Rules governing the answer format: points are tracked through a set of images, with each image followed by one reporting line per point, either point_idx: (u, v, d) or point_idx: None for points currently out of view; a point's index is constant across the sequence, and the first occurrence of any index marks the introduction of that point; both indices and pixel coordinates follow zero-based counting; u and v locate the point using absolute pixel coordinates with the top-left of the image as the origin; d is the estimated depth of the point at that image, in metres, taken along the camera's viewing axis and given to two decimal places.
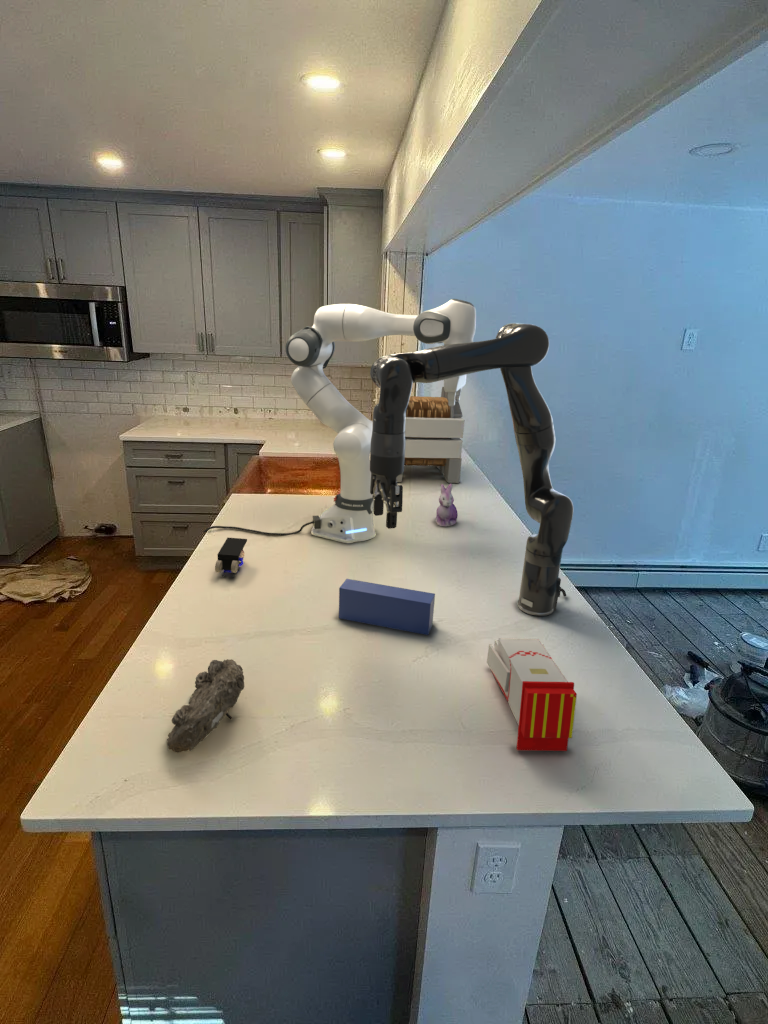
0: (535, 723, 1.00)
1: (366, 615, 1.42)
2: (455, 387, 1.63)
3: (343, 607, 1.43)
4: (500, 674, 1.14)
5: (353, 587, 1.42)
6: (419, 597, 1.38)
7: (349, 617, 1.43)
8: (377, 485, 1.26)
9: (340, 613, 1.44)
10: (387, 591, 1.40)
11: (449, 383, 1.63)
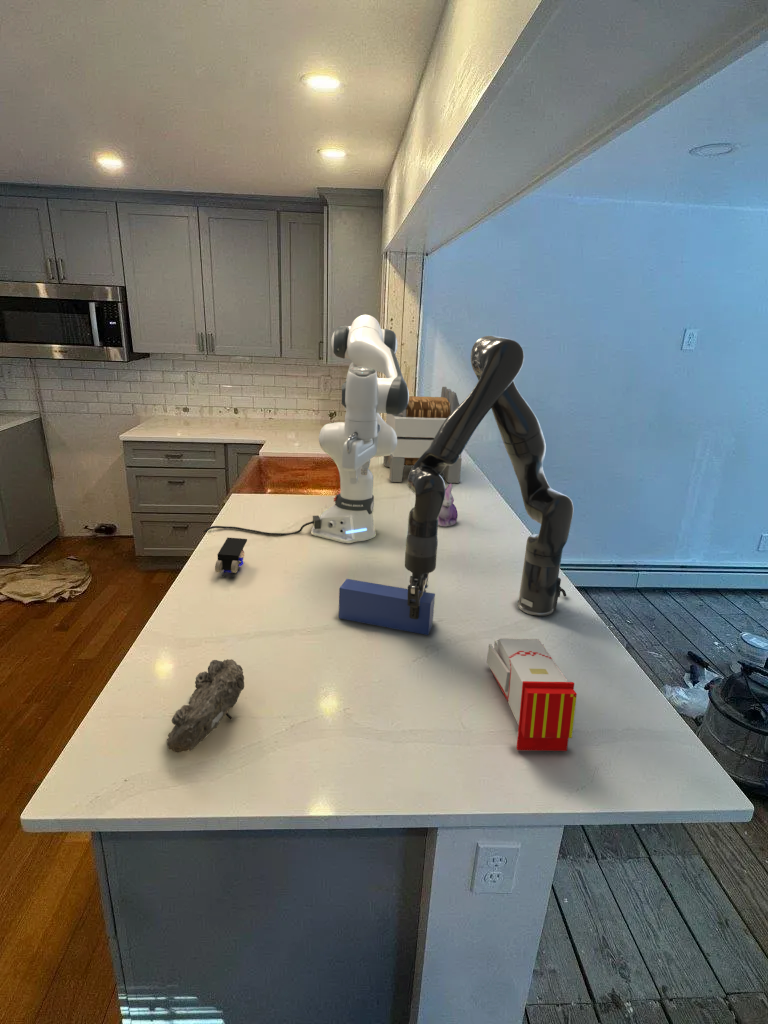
0: (535, 723, 1.00)
1: (366, 615, 1.42)
2: None
3: (343, 607, 1.43)
4: (500, 674, 1.14)
5: (353, 587, 1.42)
6: None
7: (349, 617, 1.43)
8: None
9: (340, 613, 1.44)
10: (387, 591, 1.40)
11: None
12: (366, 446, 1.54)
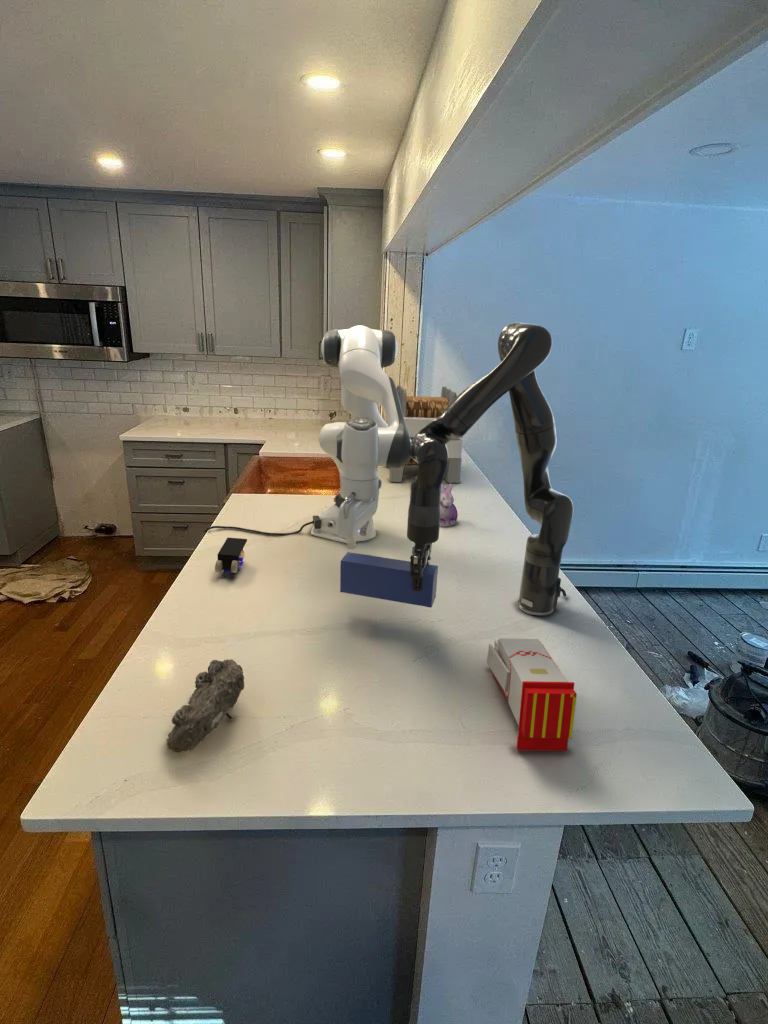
0: (535, 723, 1.00)
1: (368, 588, 1.39)
2: None
3: (344, 581, 1.40)
4: (500, 674, 1.14)
5: (355, 560, 1.39)
6: None
7: (350, 591, 1.41)
8: None
9: (341, 587, 1.41)
10: (389, 564, 1.38)
11: None
12: (365, 506, 1.36)
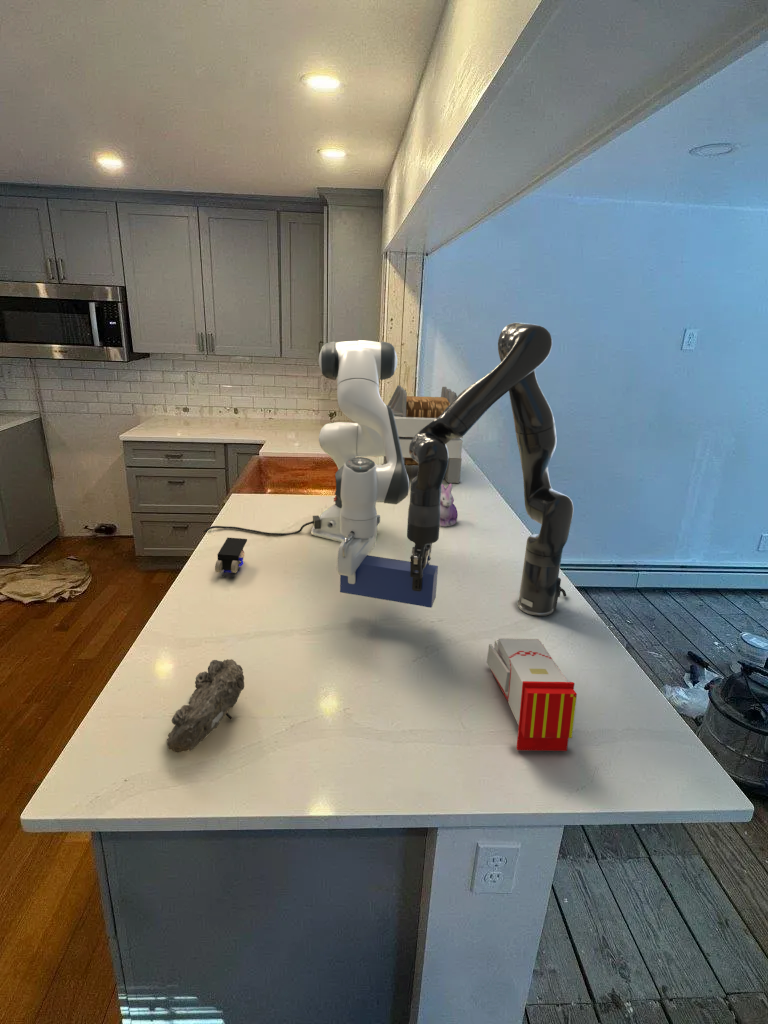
0: (535, 723, 1.00)
1: (368, 588, 1.39)
2: None
3: (344, 581, 1.40)
4: (500, 674, 1.14)
5: None
6: None
7: (350, 591, 1.41)
8: None
9: (341, 587, 1.41)
10: (389, 564, 1.38)
11: None
12: (364, 542, 1.39)
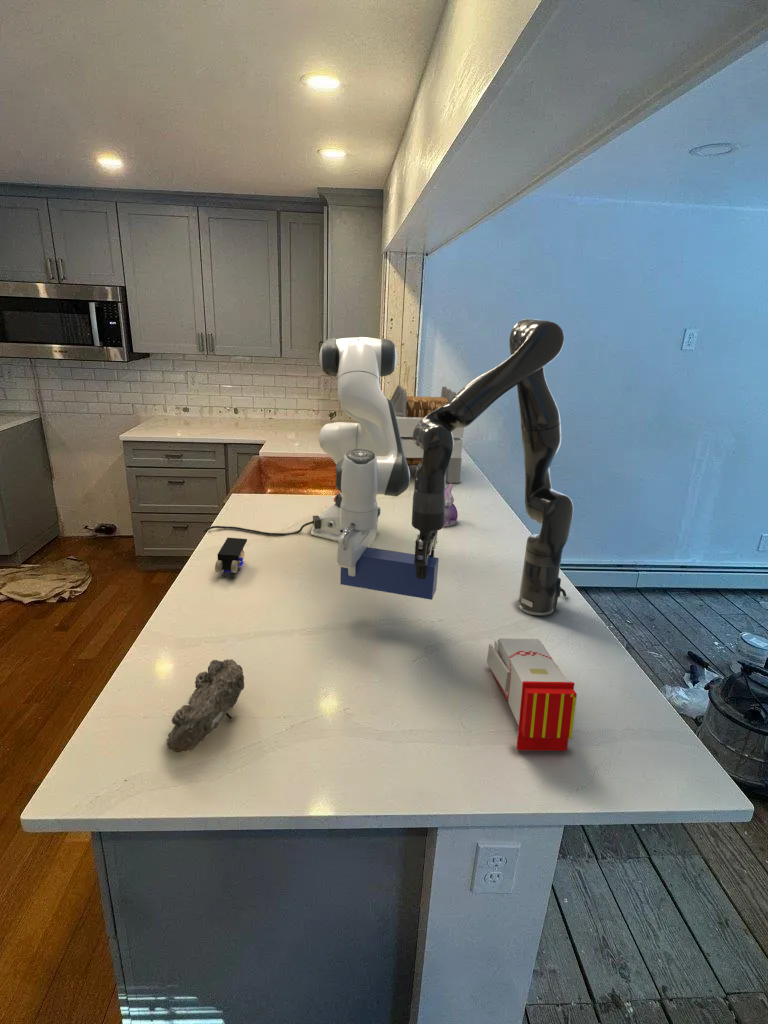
0: (535, 723, 1.00)
1: (368, 580, 1.39)
2: None
3: (344, 573, 1.40)
4: (500, 674, 1.14)
5: None
6: None
7: (351, 583, 1.40)
8: None
9: (342, 579, 1.41)
10: (390, 556, 1.37)
11: None
12: (364, 535, 1.39)
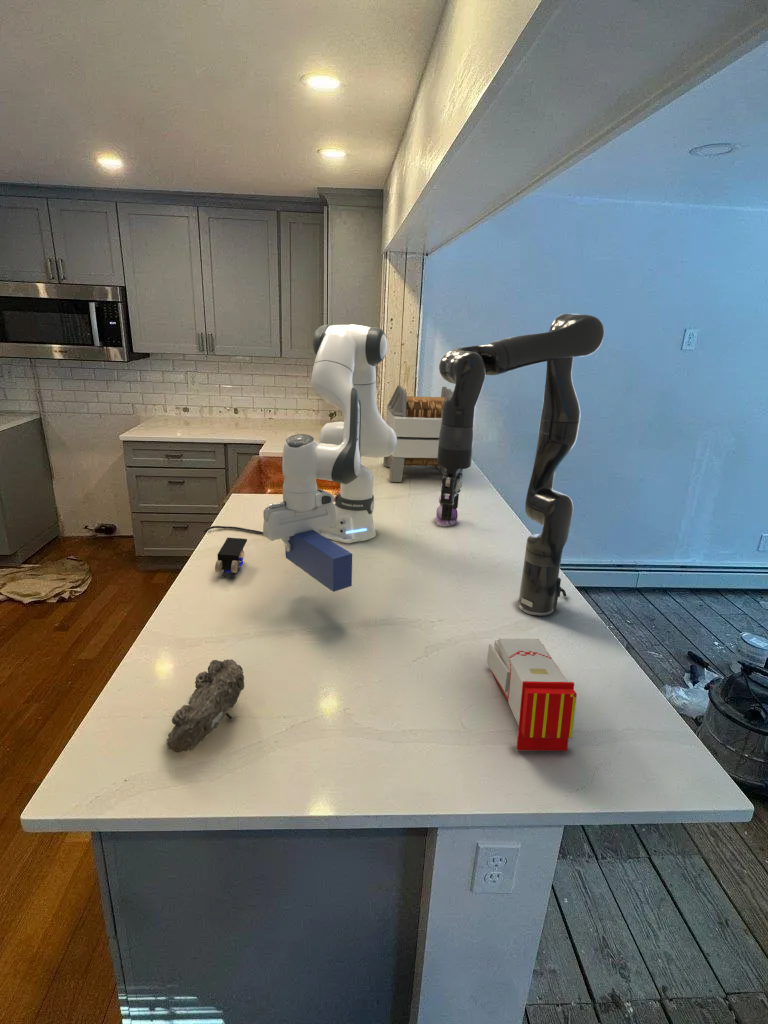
0: (535, 723, 1.00)
1: (299, 559, 1.47)
2: None
3: None
4: (500, 674, 1.14)
5: None
6: (333, 552, 1.36)
7: (290, 559, 1.50)
8: None
9: (286, 553, 1.52)
10: (315, 540, 1.42)
11: None
12: (305, 516, 1.47)
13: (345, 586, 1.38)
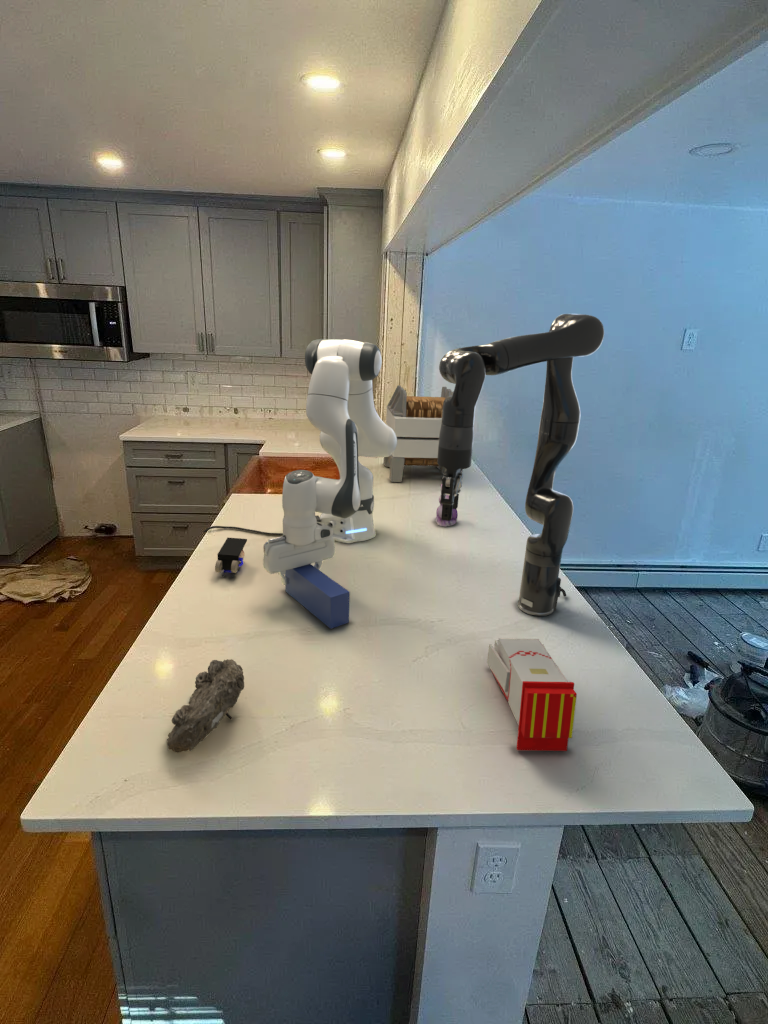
0: (535, 723, 1.00)
1: (298, 594, 1.50)
2: None
3: None
4: (500, 674, 1.14)
5: None
6: (331, 589, 1.40)
7: (290, 593, 1.54)
8: None
9: (285, 587, 1.56)
10: (314, 577, 1.46)
11: None
12: (305, 549, 1.50)
13: (342, 623, 1.41)
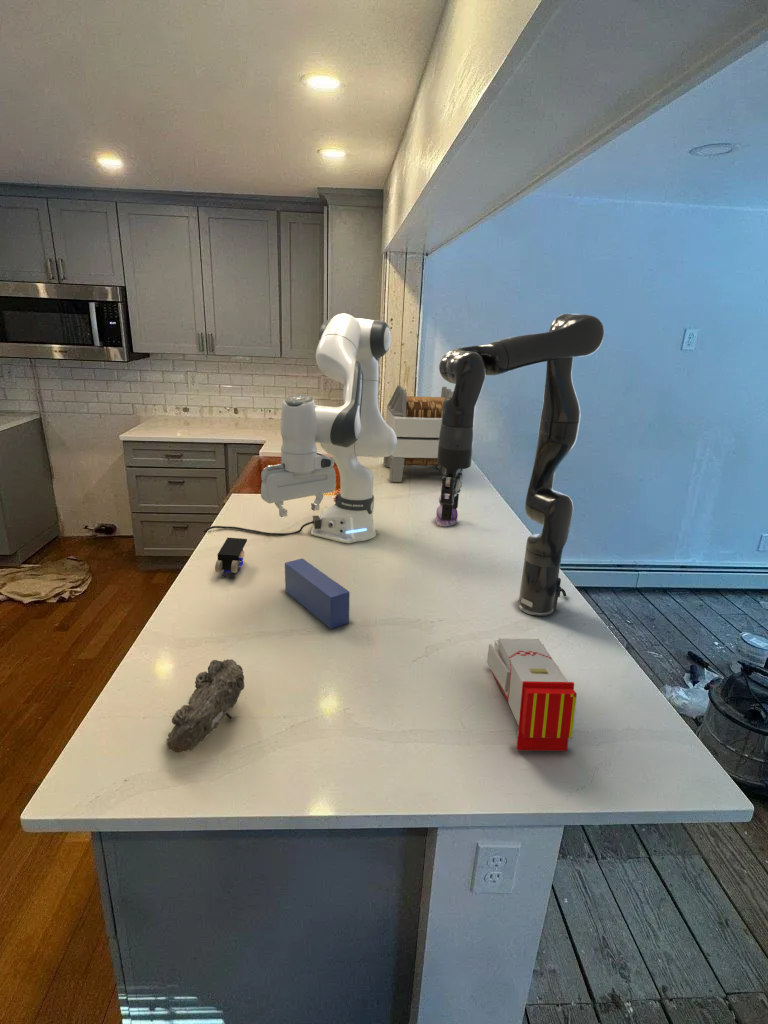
0: (535, 723, 1.00)
1: (298, 594, 1.50)
2: None
3: (287, 582, 1.55)
4: (500, 674, 1.14)
5: (295, 566, 1.52)
6: (331, 589, 1.40)
7: (290, 593, 1.54)
8: None
9: (285, 587, 1.56)
10: (314, 577, 1.46)
11: None
12: (304, 480, 1.43)
13: (342, 623, 1.41)
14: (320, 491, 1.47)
